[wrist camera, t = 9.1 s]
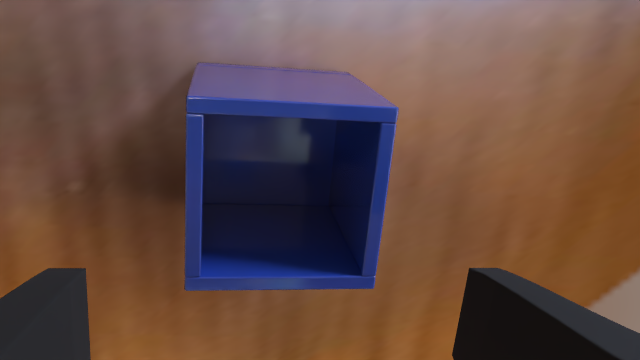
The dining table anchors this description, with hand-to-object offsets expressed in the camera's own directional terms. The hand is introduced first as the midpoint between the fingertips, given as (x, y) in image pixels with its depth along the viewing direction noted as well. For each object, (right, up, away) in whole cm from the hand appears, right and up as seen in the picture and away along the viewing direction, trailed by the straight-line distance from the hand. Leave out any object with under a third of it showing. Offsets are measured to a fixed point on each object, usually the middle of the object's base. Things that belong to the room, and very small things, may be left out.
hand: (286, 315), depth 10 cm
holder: (-1, +4, +8) cm, 9 cm away
